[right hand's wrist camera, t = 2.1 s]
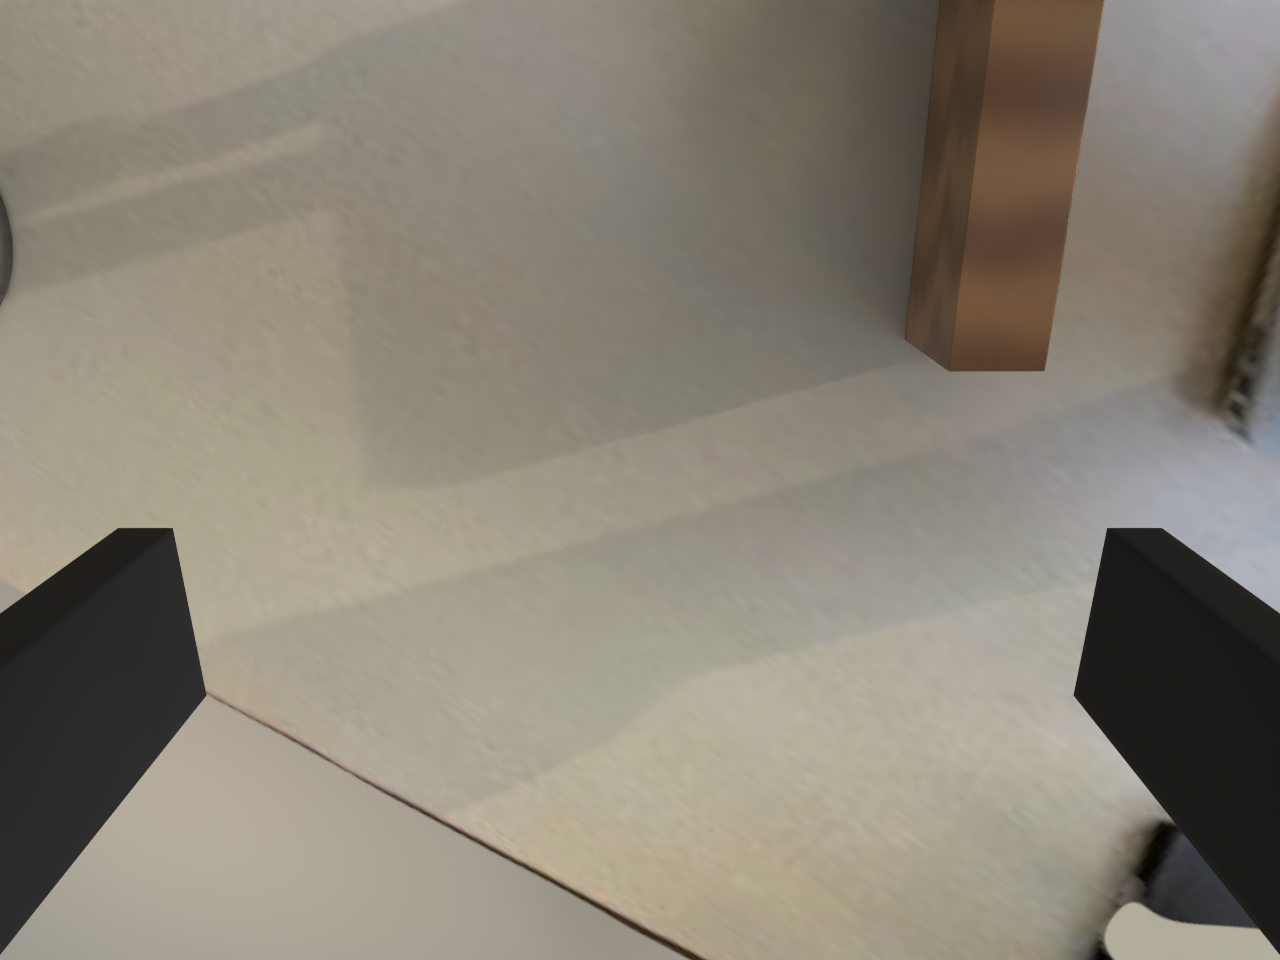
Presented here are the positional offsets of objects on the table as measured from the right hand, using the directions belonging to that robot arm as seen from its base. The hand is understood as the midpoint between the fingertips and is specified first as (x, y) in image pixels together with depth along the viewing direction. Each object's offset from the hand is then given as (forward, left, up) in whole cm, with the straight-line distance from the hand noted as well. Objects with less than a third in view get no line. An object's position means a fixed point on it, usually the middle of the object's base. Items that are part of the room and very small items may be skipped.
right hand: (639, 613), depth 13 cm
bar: (+7, +19, -41) cm, 45 cm away
